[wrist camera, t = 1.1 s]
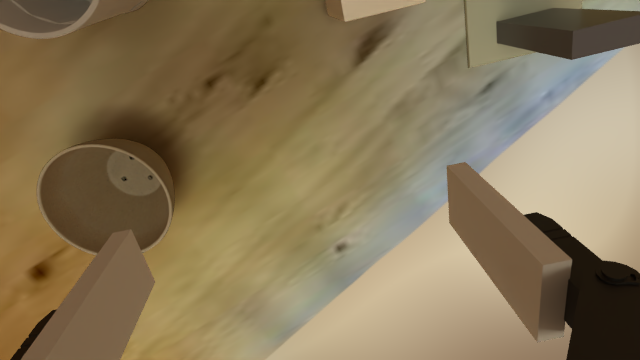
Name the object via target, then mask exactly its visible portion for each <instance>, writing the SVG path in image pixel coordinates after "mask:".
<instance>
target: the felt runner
mask: <svg viewBox="0 0 640 360" xmlns="http://www.w3.org/2000/svg"><path fill="white" fill-rule="evenodd" d="M464 6H465V23H466V40H467V58H468V68H473V67H477V66H481V65H485V64H489V63H493V62H498V61H502V60H506V59H510V58H514V57H518V56H522V55H526V54H531V53H535V52H534V51H530V50H525V49H521V48H516V47H512V46H507V45H503V44H498V43H497V31H496V22H497V21H501V20H505V19H509V18H514V17H518V16H522V15H526V14H530V13H534V12H538V11H542V10H546V9H550V8H571V9H582V0H464Z"/></svg>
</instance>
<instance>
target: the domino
mask: <svg viewBox="0 0 640 360" xmlns="http://www.w3.org/2000/svg"><path fill="white" fill-rule="evenodd" d="M496 31H497V43H498V44H503V45H507V46H512V47H516V48H521V49H525V50H530V51H534V52H539V53H543V54H548V55H553V56H557V57H562V58H566V59H571V60H573V59H577V58H581V57H585V56H589V55H593V54H597V53H602V52H606V51H610V50H614V49H618V48H622V47H626V46H630V45H634V44H639V43H640V11H618V10H594V9H571V8H550V9H546V10H542V11H538V12H534V13H530V14H526V15H522V16H518V17H514V18H509V19H505V20H501V21H497V22H496Z"/></svg>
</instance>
